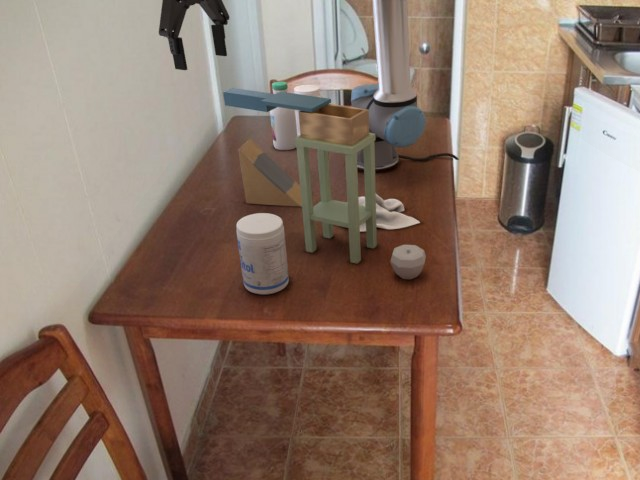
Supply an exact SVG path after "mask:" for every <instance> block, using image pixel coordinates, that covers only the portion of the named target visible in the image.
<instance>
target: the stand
mask: <svg viewBox="0 0 640 480" xmlns="http://www.w3.org/2000/svg"><path fill="white" fill-rule="evenodd" d="M294 140H295V145H296V155H297V156H296V158H297V168H298V179H299V185H300V191H301V202H302V206H301V212H302V221H303V222H302V223H303V233H304V243H305V244H304V245H305V252H308V253H312V254H313V253H314V252H315V251H316V250H317V240H316V239H317V237H316V226H315V222H320V223H322V235H323V238H325V239H331V238H332V237H334V226H337V227H342V228H347V229H348V242H349V243H348V244H349V261H350V263H352V264H356V265H357V264H359V263H360V262H361V261H362V253H361V252H362V251H361V232H360V225H361V224H363V223H364V222H365V221H366V231H365V236H366V237H365V238H366V239H365V240H366V248H368V249H375V248H376V247H377V246H378V231H377V230H378V228H377V227H376V194H377V193H376V191H377V190H376V189H377V187H376V172H375V149H374V141H375V134H374V133H369V135H368V136H367V137H365V138H363V139H362V140H360V141H359V142H357V143H356V144H354V145H353V146H349V145H344V144H338V143H332V142H326V141H320V140H314V139H309V138H303V137H301V135H300V136H298V137H296V138H294ZM309 149H315V150H316V152H317V166H318V180H319V181H318V182H319V193H320V194H319V195H320V201H319V202H318V203H316V204H315V205H314V202H313V201H314V200H313V189H312V178H311V167H310V166H311V165H310V151H309ZM362 149H363V153H364V172H363V177H364V180H363V181H364V197H365V206H360V205H359V198H358V197H359V178H358V174H359V173H358V170H357V152H359V151H360V150H362ZM329 152H331V153H336V154H342V155H344V164H345V182H346V183H345V184H346V185H345V186H346V202H345V201H340V200H336V199H332V190H331V189H332V188H331V187H332V186H331V175H330V173H331V172H330V158H329Z"/></svg>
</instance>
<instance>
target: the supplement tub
mask: <svg viewBox="0 0 640 480" xmlns="http://www.w3.org/2000/svg"><path fill="white" fill-rule="evenodd" d="M235 226H236V239H237V240H236V241H237V249H238V253H239V262H240V268H241V275H242V281H243V286H244V288H245V289H246V291H249V292H250V293H253V294H256V295H271V294H272V295H273V294H276V293H278V292H280V291H282V290H284V289H285V288H286V287H287V286H288V284H289V281H290V278H289V277H290V276H289V265H288V256H287V244H286V234H285V233H286V232H285V226H284V222H283V218H281V217H280V216H278V215H276V214H273V213H267V212H258V213H251V214H248V215H246V216H243V217H241V218H240V219H239V220H238V221H237V222H236V225H235Z"/></svg>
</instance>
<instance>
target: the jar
mask: <svg viewBox="0 0 640 480" xmlns="http://www.w3.org/2000/svg"><path fill="white" fill-rule="evenodd" d="M320 89H321V88H320V86H318V85H315V84H301V85H297V86H295V87H293V94H300V95H307V96H314V97H321V98H323V97H322V95H321V91H320ZM299 111H300V110H295V118H296V128H297V137H298V136H300V134H301V133H300V123H299Z"/></svg>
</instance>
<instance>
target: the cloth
mask: <svg viewBox="0 0 640 480" xmlns="http://www.w3.org/2000/svg"><path fill="white" fill-rule="evenodd" d="M358 198H359V205H360V206H365V195H363V196H358ZM404 211H406V210H405V205H404V204H403V202H402V201H400V200H399V199H396V198H388V199H383V198H382V197H381V196H380V195H378V194H377V193H376V228H377V229H382V230H383V229H384V230H400V229H405V228H408V227H412V226H415V225H418V224H421V222H420V221H419V220H418V219H416V218H415V217H413V216H410V215H406V214H404V213H402V212H404ZM364 232H365V233H366V221H365V222H364V223H363V224H361V225H360V233H364Z"/></svg>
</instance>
